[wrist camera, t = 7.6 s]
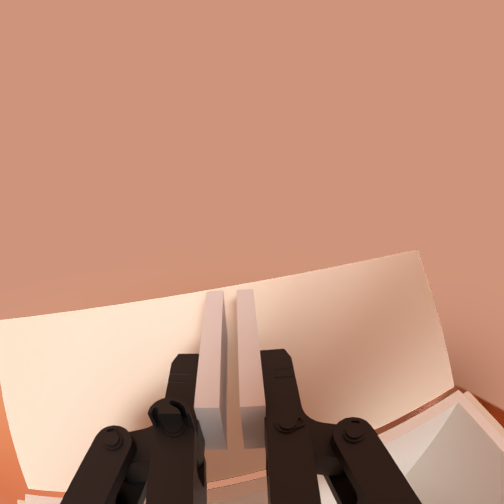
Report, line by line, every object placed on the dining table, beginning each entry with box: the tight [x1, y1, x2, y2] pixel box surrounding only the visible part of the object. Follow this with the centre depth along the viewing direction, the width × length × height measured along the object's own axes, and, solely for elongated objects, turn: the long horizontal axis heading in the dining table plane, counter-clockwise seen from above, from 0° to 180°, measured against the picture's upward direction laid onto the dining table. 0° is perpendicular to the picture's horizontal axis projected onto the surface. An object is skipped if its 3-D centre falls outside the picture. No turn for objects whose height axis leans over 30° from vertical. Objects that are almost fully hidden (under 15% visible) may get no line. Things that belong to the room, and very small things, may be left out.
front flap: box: [0, 249, 454, 492], centre depth 15 cm, size 27×10×1 cm
